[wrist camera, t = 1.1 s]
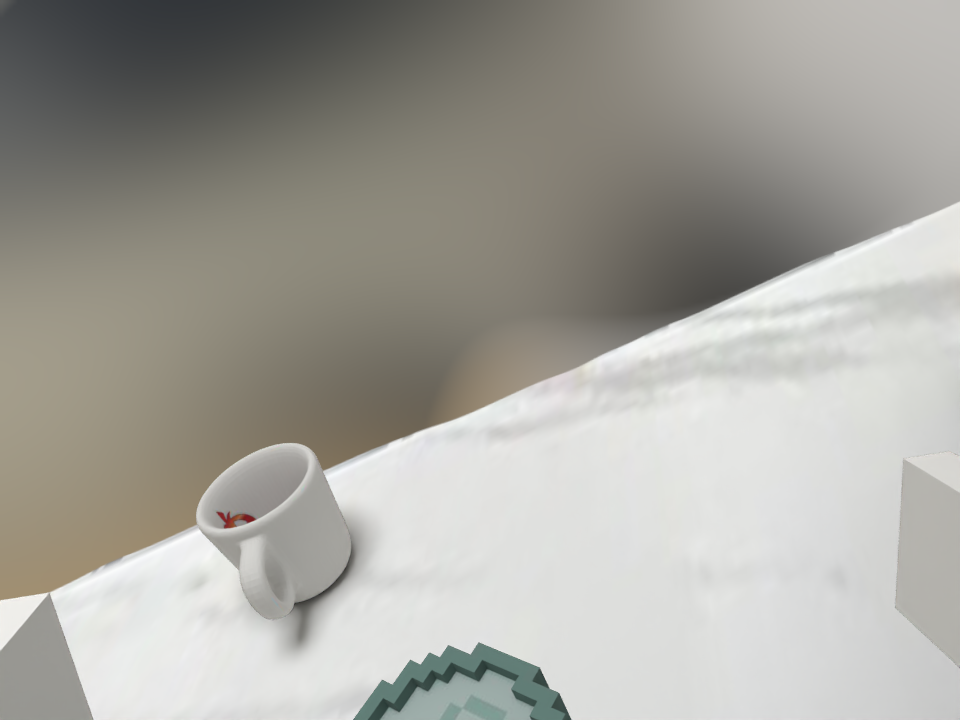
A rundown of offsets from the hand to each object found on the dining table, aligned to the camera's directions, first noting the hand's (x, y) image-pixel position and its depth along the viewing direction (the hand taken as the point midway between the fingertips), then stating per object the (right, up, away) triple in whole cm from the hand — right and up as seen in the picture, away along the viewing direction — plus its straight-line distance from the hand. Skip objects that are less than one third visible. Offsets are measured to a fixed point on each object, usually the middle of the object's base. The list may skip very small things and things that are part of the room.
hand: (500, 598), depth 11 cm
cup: (-11, -11, +35) cm, 38 cm away
